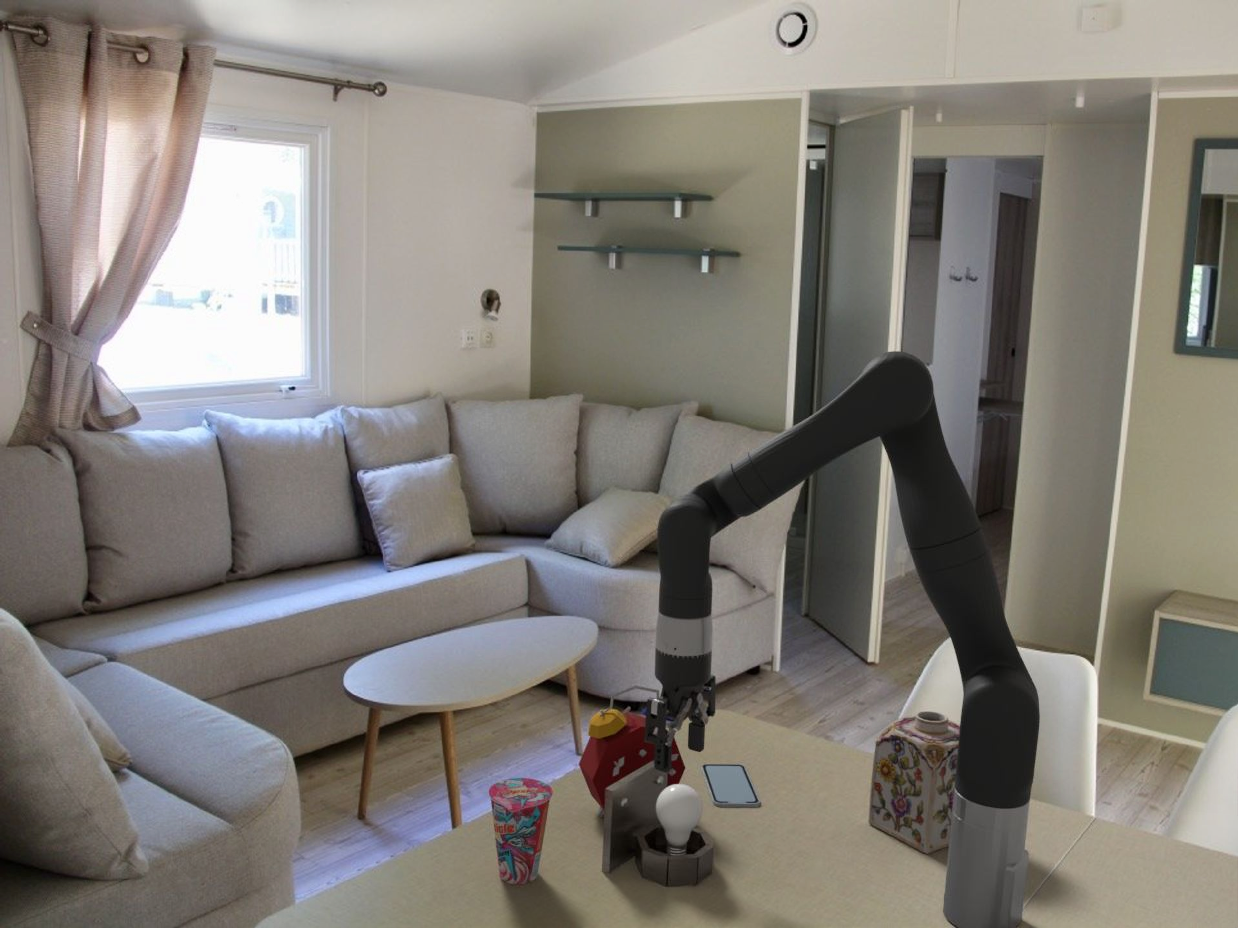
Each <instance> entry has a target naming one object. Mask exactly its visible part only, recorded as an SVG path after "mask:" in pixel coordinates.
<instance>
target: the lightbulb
mask: <svg viewBox="0 0 1238 928" xmlns="http://www.w3.org/2000/svg"><path fill="white" fill-rule="evenodd" d="M656 814H657V817H658V820H659V821H660V823H661V825H662V826H663V828H664V830H665V836H666V839H667V855H686V846H687V841H688V840H689V837H690V833H691V831H692V830H693V828H696V826H697V825H698V824H699V821H700V820H701V818H702V815H703V802H702V800H701V797H700V795H699V793H698V792H697V791H696V790H695V789H694V788H692V787H691V786H689V785H687V784H683V783H679V784H674V785H670V786H668V787H667V788H665V789H664V790H663V791H662V792H661V793H660V795H659V796H658V798H657V802H656Z"/></svg>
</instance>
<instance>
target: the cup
mask: <svg viewBox="0 0 1238 928" xmlns="http://www.w3.org/2000/svg"><path fill="white" fill-rule="evenodd" d="M553 791H554V790H553V789H552V787H551V786H550V785H549V784H548V783H546V782H543V781H542V780H539V779H535V778H527V777H514V778H505V779H503V780H500V781H498V782H496V783H494V784H492V785H491V786H490V788H489V790H488V797H489V799H490V803H491V811H492V818H493V819H492V820H493V828H494V829H493V830H494V839H495V846H496V847H495V848H496V854H497V856H496V857H497V864H498V871H499V872H498V873H499V874H498V875H499V878H500V879H501V880H503V881H504V883H505V882H506V883H508V884H513V885H523V884H524V885H525V884H529V883H531V882H534V881H535V879H537V878H538V875H539V868H540V862H541V855H542V851H543V844H544V837H545V833H546V832H545V831H546V826H547V819H548V814H549V813H548V812H549V807H550V801H551V798H552V796H553Z"/></svg>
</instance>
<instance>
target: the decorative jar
mask: <svg viewBox="0 0 1238 928" xmlns="http://www.w3.org/2000/svg"><path fill="white" fill-rule="evenodd" d="M959 732H960V723H957V722H955V721H952V720H950V719H949V717H948V716H946V715H945V714H943V713H942V712H937V711H931V710H930V711H929V710H927V711H925V710H924V711H919V712H916V714H914V715H909V716H905V717H900V718H897V719H895V720H893V721H892V722H890V724H889V725H888V726H887V728H885V729H884V730H883V732H882V733H881V734H879V736H878V737H876V740H875V741H874V742H875V745H874V753H873V761H872V770H871V771H872V772H871V777H870V778H871V779H870V791H869V792H870V795H869V807H868V824H869V825H871V826H873V827H875V828H877V829H879V830H881V831H883V832H884V833H886V834H888V835H890V836H891V837H894V838H895V839H897V840H899V841H901V842H903V843H905V844H907V845H908V846H910V847H912V848H914V849H915V850H918V851H919V852H921V853H923V854H926V855H928V854H931V853H933V852H936V851H939V850H942V849H944V848H947V847H949V841H950V830H951V819H952V809H953V799H954V788H955V778H956V763H957V755H958V743H959Z"/></svg>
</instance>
